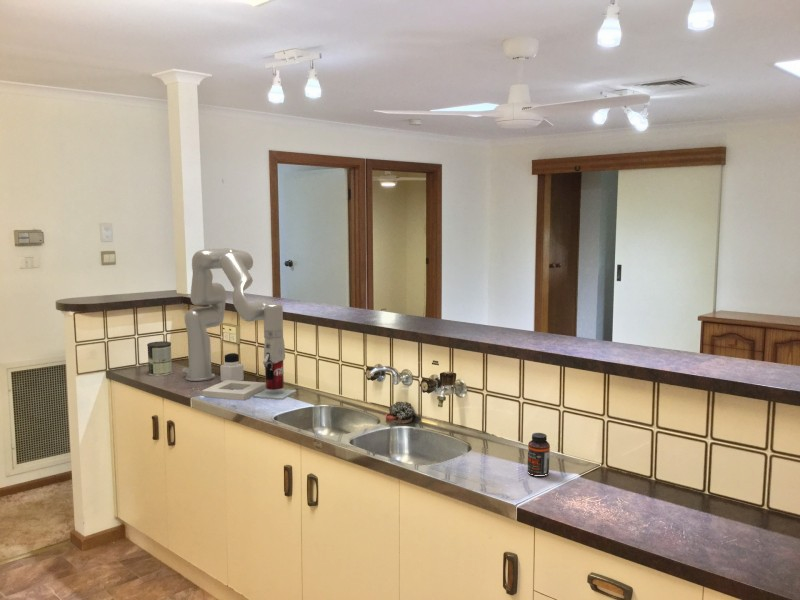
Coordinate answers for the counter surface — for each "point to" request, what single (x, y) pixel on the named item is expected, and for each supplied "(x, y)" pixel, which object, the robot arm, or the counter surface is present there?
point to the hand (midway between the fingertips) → (274, 377)
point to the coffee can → (159, 358)
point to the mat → (275, 394)
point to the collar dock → (244, 393)
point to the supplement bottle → (538, 454)
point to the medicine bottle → (232, 368)
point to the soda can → (276, 377)
